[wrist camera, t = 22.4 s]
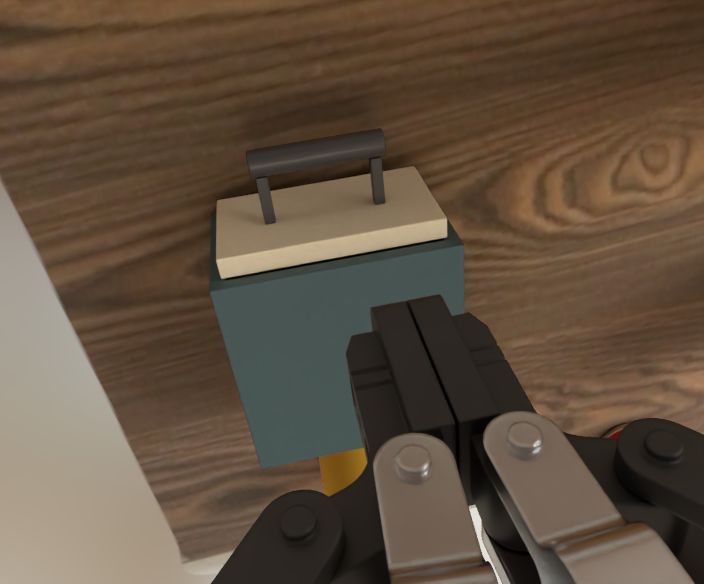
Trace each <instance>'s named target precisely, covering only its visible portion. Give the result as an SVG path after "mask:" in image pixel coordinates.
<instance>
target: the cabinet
mask: <svg viewBox="0 0 704 584" xmlns="http://www.w3.org/2000/svg"><path fill="white" fill-rule="evenodd" d="M421 178H422V177H421ZM423 181H424V180H423ZM426 186H427V185H426ZM428 189H429V188H428ZM429 191H430V190H429ZM431 194H432V193H431ZM433 197H434V196H433ZM434 199H435V198H434ZM436 202H437V201H436ZM438 205H439V204H438ZM439 207H440V206H439ZM441 210H442V209H441ZM443 213H444V212H443ZM444 215H445V214H444ZM216 217H217V212H216V213H212V215H211V249H210V288H209V293H210V296H211V300H212V303H213V306H214V310H215V313H216V317H217V320H218V323H219V327H220V330H221V334H222V337H223V340H224V344H225V347H226V350H227V354H228V357H229V361H230V364H231V367H232V371H233V374H234V378H235V381H236V384H237V388H238V391H239V395H240V398H241V401H242V405H243V408H244V412H245V415H246V418H247V422H248V425H249V428H250V432H251V435H252V439H253V442H254V445H255V449H256V452H257V456H258V459H259V462H260V466H261V468H262V469H264V468H269V467H274V466H278V465H283V464H288V463H293V462H298V461H302V460H307V459H312V458H317V457H322V456H326V455H331V454H336V453H341V452H346V451H350V450H355V449H360V448H364V446H363V442H362V438H361V434H360V430H359V425H358V422H357V417H356V413H355V409H354V405H353V398H352V392H351V385H350V379H349V372H348V365H347V359H346V351H347V348H348V345H349V342H350V339H351V336H352V335H357V334H362V333H368V332H372V323H371V314H370V308H371V307H375V306H381V305H386V304H391V303H396V302H402V301H404V302H405V303H406V300H411V299H417V298H422V297H427V296H432V295H438V294H440V295H441V296H442V297H443V299H444V301H445V303H446V305H447V307H448V309H449V311H450V313H451V315H452V316H454V315H460V314H464V244H463V243H462V241H461V239H460V238H459V236H458V235H457V233H456V232H455V230H454V228H453V227H452V225H451V224H450V222H449V220H448V219H447V237H446V238H442V239H436V240H431V241H425V243H426V244H422V245H417V246H411V247H406V248H401V249H395V250H390V251H384V252H379V253H373V254H368V255H363V256H357V257H352V258H346V259H341V260H336V261H330V262H325V263H319V264H314V265H309V266H303V267H298V268H292V269H287V270H281V271H276V272H271V273H265V274H260V275H254V276H249V277H244V278H240V277H239V276H236V277H230V278H225V279H221V277H220V274H219V270H218V266H217V263H216ZM446 218H447V217H446Z"/></svg>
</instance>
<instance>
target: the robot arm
mask: <svg viewBox="0 0 704 584" xmlns="http://www.w3.org/2000/svg"><path fill="white" fill-rule="evenodd" d="M370 314H371V323H372V332H368V333H362V334H357V335H352V336H351V339H350V342H349V345H348V348H347V351H346V359H347V365H348V372H349V379H350V385H351V392H352V398H353V405H354V409H355V413H356V417H357V422H358V425H359V430H360V434H361V438H362V442H363V446H364V451H365V455H366V459H367V465H366V467H365V469H364V470H363V472H362V474H361V475H360V476H359V477H358V478H357V479H356V480H355V481H354V482H353V483H351V484H350V485H349V486H347V487H345V488H344V489H342V490H340V491H338V492H337V493H335V494H333V495H331V496H329V497H328V496H327V495H325V494H323V493H321V492H318V491H314V490H297V491H292V492H289V493H286V494H284V495H282V496H280V497H278V498H277V499H275V500H273V501H272V502H271V503H270V504H269V505H268V506H267V507H266V508H265V509H264V511H263V512H262V513H261V515H260V516H259V517H258V519H257V520H256V522H255V523H254V524H253V526H252V527H251V529H250V530H249V531H248V533H247V534H246V536H245V537H244V538H243V540H242V541H241V543H240V544H239V545H238V547H237V548H236V549H235V551H234V552H233V554H232V555H231V556H230V558H229V559H228V561H227V562H226V563H225V565H224V566H223V568H222V569H221V570H220V572H219V573H218V575H217V576H216V578H215V579H214V580H213V581H212V583H211V584H498V582H497V578H496V575H495V573H494V570H493V568H492V566H491V564H490V563H489V562H488V561H485V560H484V558H483V555H482V552H481V549H480V545H479V542H478V538H477V535H476V532H475V528H474V525H473V521H472V518H471V514H470V511H469V507H468V506H470V505H474V504H475V505H476V507H477V509H478V512H479V515H480V517H481V519H482V540H483V543H484V546H485V548H486V550H487V552H488V554H489V556H490V558H491V561H492V563H493V565H494V567H495V569H496V571H497V573H498V575H499V578H500V580H501V582H502V584H704V435H703V434H701V433H699V432H696V431H694V430H692V429H689V428H687V427H685V426H682V425H680V424H678V423H675V422H672V421H669V420H665V419H658V418H645V419H639V420H635V421H633V422H631V423H629V424H628V425H626V426H625V427H624V428H623V429H622V430H621V432H620V434H619V436H618V439H613V438H597V437H583V436H576V435H572V434H568V433H565V432H562V430H561V429H560V428H559V427H558V426H557V425H556V424H555V423H554V422H553V421H551V420H550V419H548V418H546V417H544V416H542V415H539V414H537V412H536V411H535V409H534V408H533V406H532V404H531V402H530V401H529V399H528V397H527V395H526V394H525V392H524V390H523V388H522V387H521V385H520V383H519V381H518V379H517V378H516V376H515V374H514V372H513V371H512V369H511V367H510V365H509V364H508V362H507V360H505V358H504V355H503V353H502V351H501V349H500V348H499V346H497V342H496V341H495V339H494V337H493V335H492V334H491V332H490V330H489V328H488V327H487V325H485V324H484V323H483V322H481V321H480V320H478V319H477V318H476V317H474V316H473V315H472V314H470V313H465V314H460V315H454V316H452V315H451V313H450V311H449V309H448V307H447V305H446V303H445V301H444V299H443V297H442V296H441V295H440V294H438V295H432V296H427V297H422V298H417V299H411V300H406V303H405V302H404V301H402V302H396V303H391V304H386V305H381V306H375V307H371V308H370Z"/></svg>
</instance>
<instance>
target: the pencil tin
mask: <svg viewBox="0 0 704 584" xmlns="http://www.w3.org/2000/svg"><path fill="white" fill-rule="evenodd" d="M318 458H319V464H320V471H321V477H322V483H323V489H324V494H325V495H327V496H328V497H329V496H331V495H333V494H335V493H337V492H338V491H340V490H342V489H344V488H345V487H347V486H349V485H350V484H351V483H353V482H354V481H355V480H356V479H357V478H358V477H359V476H360V475H361V474H362V472H363V470H364V469H365V467H366V465H367V459H366V455H365V451H364V448H360V449H355V450H350V451H346V452H341V453H336V454H331V455H326V456H322V457H318Z"/></svg>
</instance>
